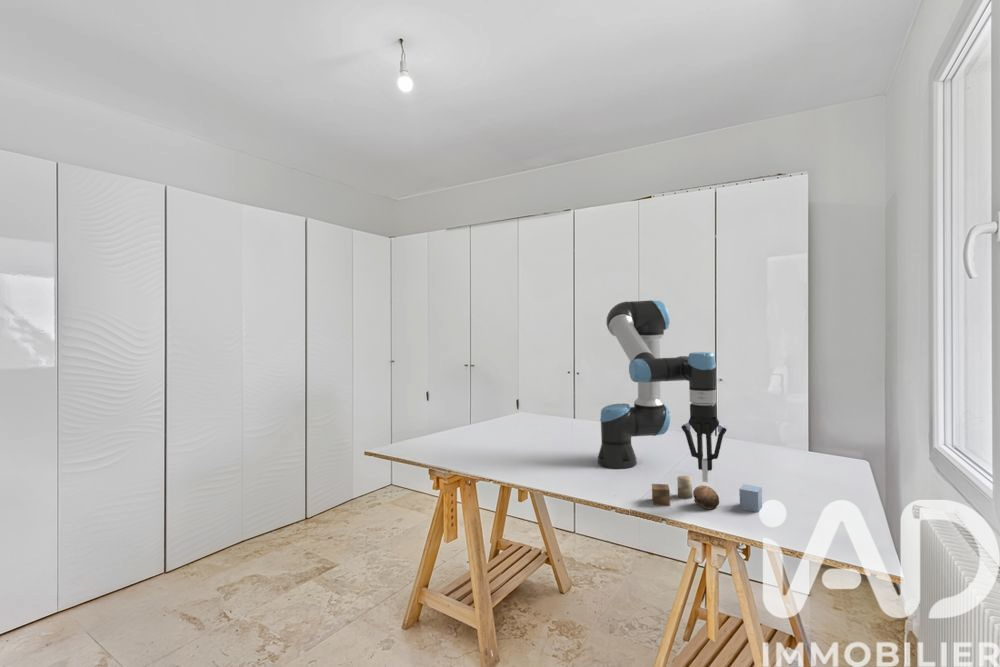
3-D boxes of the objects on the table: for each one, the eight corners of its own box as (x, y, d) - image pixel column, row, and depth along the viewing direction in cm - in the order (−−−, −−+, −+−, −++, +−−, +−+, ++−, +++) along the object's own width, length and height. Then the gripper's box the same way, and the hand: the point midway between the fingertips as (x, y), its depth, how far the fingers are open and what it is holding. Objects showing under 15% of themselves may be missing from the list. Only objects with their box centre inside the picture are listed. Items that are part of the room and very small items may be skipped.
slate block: (739, 508, 145) (739, 488, 145) (744, 503, 149) (743, 484, 149) (758, 512, 142) (757, 492, 142) (762, 506, 146) (761, 487, 145)
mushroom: (684, 490, 153) (695, 477, 149) (707, 498, 153) (718, 485, 150) (690, 511, 146) (702, 498, 143) (714, 519, 146) (726, 506, 143)
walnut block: (653, 505, 151) (652, 489, 150) (652, 499, 155) (651, 483, 155) (670, 506, 149) (669, 489, 149) (668, 500, 154) (668, 484, 154)
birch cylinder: (676, 497, 156) (676, 479, 155) (679, 493, 159) (678, 475, 159) (691, 499, 153) (690, 481, 153) (693, 495, 157) (692, 476, 157)
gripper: (678, 404, 147) (681, 481, 147) (725, 406, 140) (728, 487, 141) (682, 400, 153) (685, 474, 154) (727, 402, 147) (730, 479, 147)
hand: (705, 480), depth 147 cm, fingers closed
